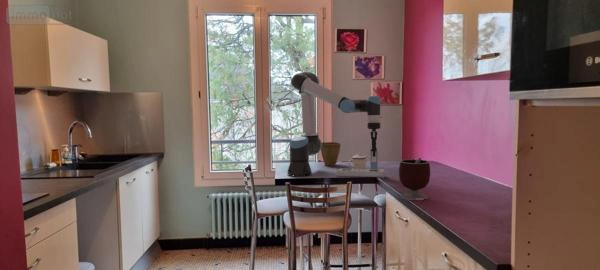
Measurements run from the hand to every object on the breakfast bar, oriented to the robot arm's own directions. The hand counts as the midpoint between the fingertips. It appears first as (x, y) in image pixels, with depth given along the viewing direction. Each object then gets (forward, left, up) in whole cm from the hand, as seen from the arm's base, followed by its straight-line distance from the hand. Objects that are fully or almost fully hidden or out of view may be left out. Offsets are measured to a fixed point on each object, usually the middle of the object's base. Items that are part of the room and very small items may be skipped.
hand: (374, 161), depth 223 cm
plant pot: (-31, +41, -10) cm, 52 cm away
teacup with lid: (-11, +21, -10) cm, 25 cm away
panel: (-8, 0, -10) cm, 13 cm away
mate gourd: (+19, -47, -10) cm, 52 cm away
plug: (0, 0, -5) cm, 5 cm away
